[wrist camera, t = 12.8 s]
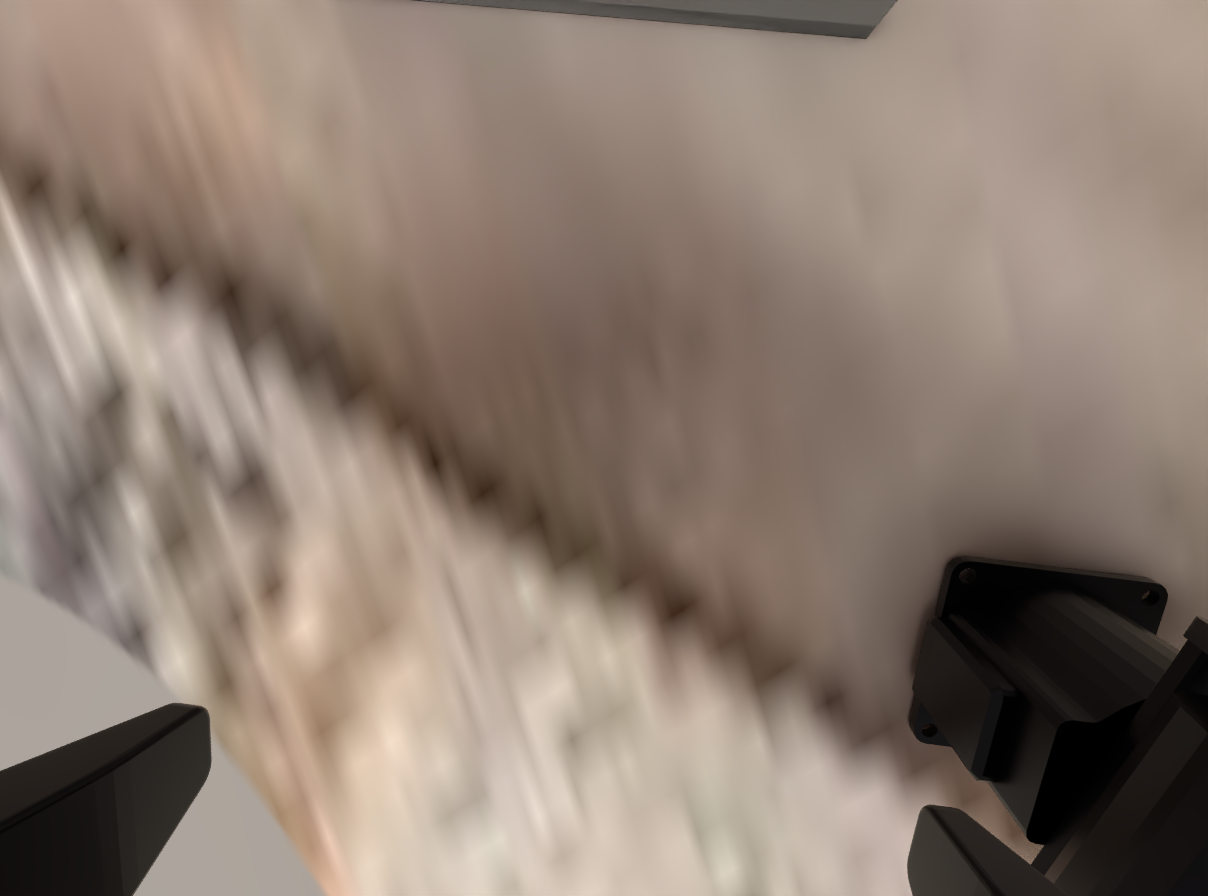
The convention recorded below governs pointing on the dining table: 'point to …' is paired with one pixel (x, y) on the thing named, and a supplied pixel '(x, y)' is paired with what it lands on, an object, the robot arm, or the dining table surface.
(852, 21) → the tray
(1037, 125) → the dining table surface
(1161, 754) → the robot arm
